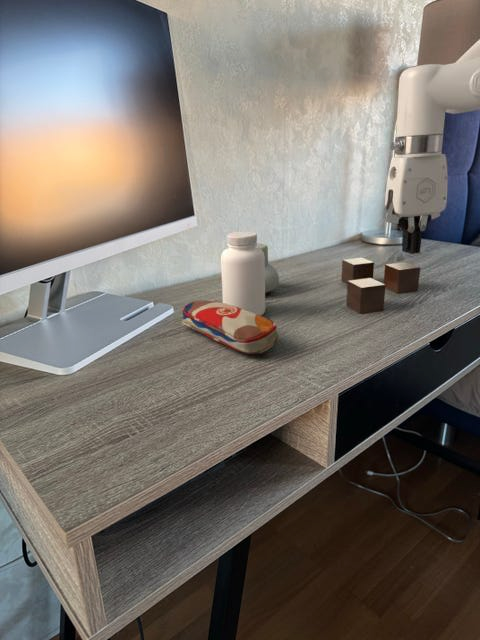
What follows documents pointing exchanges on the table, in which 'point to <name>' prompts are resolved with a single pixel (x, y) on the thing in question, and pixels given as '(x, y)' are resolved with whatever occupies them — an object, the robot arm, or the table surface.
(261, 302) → the pill bottle
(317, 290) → the table surface
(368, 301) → the block
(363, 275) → the block
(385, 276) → the block middle
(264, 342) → the pencil case
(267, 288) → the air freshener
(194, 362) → the table surface
